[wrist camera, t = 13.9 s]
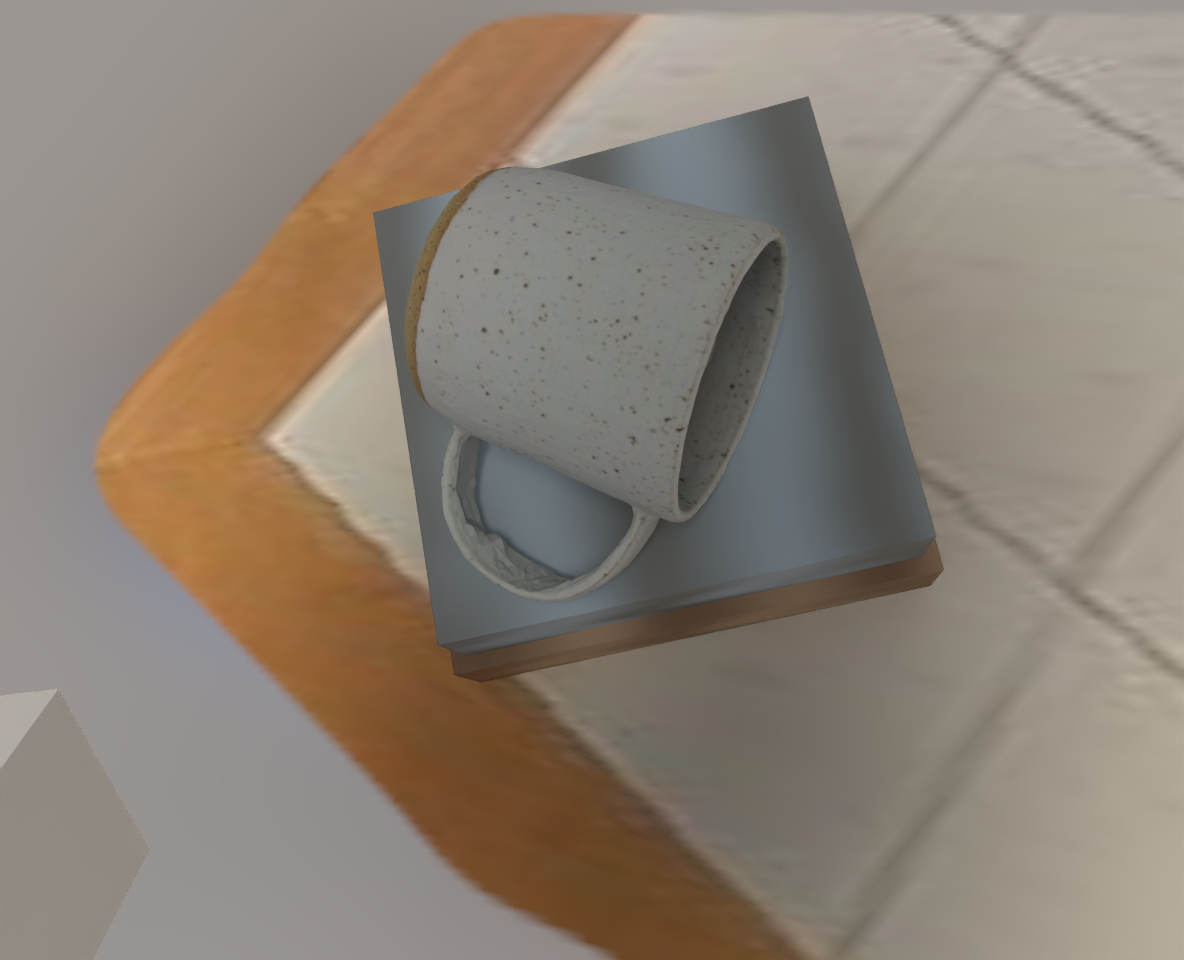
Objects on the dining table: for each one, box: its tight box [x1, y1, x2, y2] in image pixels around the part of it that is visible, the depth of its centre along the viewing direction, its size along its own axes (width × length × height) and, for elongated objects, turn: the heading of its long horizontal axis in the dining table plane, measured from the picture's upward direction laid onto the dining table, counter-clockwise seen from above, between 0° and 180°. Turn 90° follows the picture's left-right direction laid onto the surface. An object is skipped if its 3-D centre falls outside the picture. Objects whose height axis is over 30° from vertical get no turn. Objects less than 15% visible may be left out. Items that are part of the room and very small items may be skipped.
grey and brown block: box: [373, 97, 944, 682], centre depth 34 cm, size 15×15×6 cm
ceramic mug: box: [404, 167, 789, 603], centre depth 27 cm, size 11×8×8 cm
